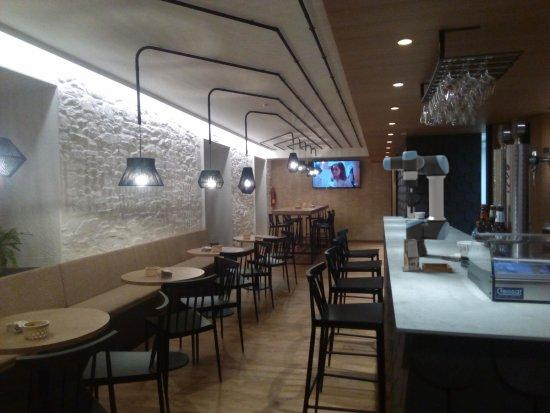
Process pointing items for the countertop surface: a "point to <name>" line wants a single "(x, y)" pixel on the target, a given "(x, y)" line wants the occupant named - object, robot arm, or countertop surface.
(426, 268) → the walnut collar
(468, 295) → the countertop surface
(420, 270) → the slate mat
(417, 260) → the coffee box
